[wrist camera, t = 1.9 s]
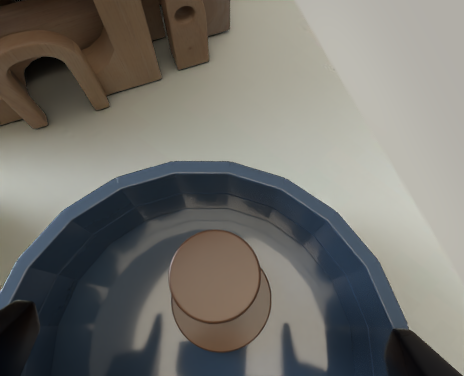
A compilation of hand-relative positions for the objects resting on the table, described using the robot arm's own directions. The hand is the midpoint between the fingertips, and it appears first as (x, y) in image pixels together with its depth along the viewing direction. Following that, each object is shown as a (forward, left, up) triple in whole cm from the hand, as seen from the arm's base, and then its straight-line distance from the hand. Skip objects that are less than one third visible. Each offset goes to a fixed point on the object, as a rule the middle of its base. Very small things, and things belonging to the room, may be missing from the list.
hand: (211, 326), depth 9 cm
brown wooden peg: (+1, 0, -9) cm, 9 cm away
